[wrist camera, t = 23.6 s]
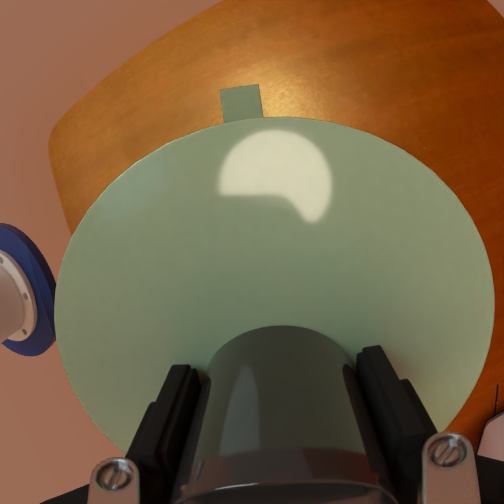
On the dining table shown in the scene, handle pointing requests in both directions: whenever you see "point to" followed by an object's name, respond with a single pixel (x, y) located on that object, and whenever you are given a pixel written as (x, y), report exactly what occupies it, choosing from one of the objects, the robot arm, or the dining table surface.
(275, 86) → the dining table surface
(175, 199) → the pot lid
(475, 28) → the dining table surface
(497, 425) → the tub
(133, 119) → the dining table surface
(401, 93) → the dining table surface
